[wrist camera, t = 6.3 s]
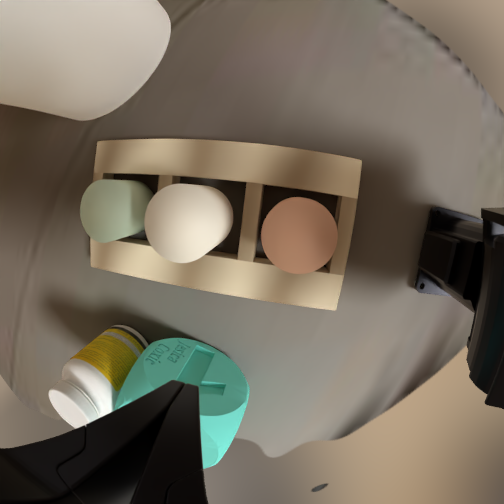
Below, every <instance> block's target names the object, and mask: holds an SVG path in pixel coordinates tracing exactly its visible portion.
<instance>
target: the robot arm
mask: <svg viewBox="0 0 504 504" xmlns="http://www.w3.org/2000/svg"><path fill="white" fill-rule="evenodd" d="M436 210H437V212H438V214H437V216H435V211H436ZM481 218H483V220H480V219H477V218H474V217H471V216H467V215H464V214H461V213H458V212H454V211H451V210H447V209H444V208H440V207H432V208H431V210H430V214H429V220H428V226H427V232H426V233H425V236H424V241H423V246H422V251H421V255H420V260H419V264H418V265H419V270H418V274H417V278H416V282H415V289H416V290H417V291H418V292H420V293H427V294H435V295H444V296H452V297H453V298H455V299H456V300H458V301H459V302H460V303H462V304H463V305H464V306H466V307H467V308H468V309H470V310H471V311H472V312H474V313H475V314H474V319H473V324H472V329H471V334H470V336H469V337H468V341H467V348H468V355H467V363H468V366H469V370H470V371H471V372H470V375H469V377H470V379H471V380H472V381H473V383H474V384H475V385H476V386H477V387H478V388H479V389H480V390H482V391H483V392H484V393H486V394H487V397H486V400H485V404H486V405H489V406H494V407H499V408H502V409H504V208H481ZM422 283H423V285H422V287H421V288H419V286H420V284H422ZM0 504H208V500H207V496H206V489H205V482H204V472H203V459H202V444H201V426H200V402H199V387H198V386H197V385H192V384H189V383H187V384H185V383H184V382H181V381H177V380H171V381H169V382H167V383H165V384H164V385H162V386H160V387H158V388H156V389H155V390H153V391H151V392H149V393H147V394H145V395H143V396H142V397H140V398H138V399H136V400H134V401H132V402H130V403H128V404H126V405H124V406H122V407H120V408H119V409H117V410H115V411H113V412H111V413H109V414H106V415H104V416H102V417H100V418H98V419H96V420H94V421H92V422H90V423H88V424H86V426H85V425H83V426H81V427H79V428H77V429H74V430H72V431H69V432H67V433H65V434H62V435H59V436H56V437H53V438H50V439H46V440H43V441H39V442H35V443H31V444H27V445H24V446H19V447H14V448H5V449H3V448H2V449H1V448H0Z"/></svg>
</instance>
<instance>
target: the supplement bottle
mask: <svg viewBox="0 0 504 504" xmlns="http://www.w3.org/2000/svg"><path fill="white" fill-rule="evenodd" d="M148 346H149V345H148V343H147V342H146V340H145V339H144V338H143V337H142V335H140V334H139V333H138V332H137V331H135V330H134V329H132V328H130V327H128V326H124V325H114V326H112V327H110V328H108V329H107V330H106V331H104V332H103V333H102V334H101V335H99V336H98V337H97V338H95V339H94V340H93V341H92V342H91V343H89V344H88V345H87V346H86V347H84V348H83V349H82V350H81V351H80V352H78V353H77V354H76V355H75V356H73V357H72V358H71V359H70V360H69V361H68V362H67V363H66V364H65V365H64V367H63V370H62V379H63V380H61V381H59V382H57V383H56V384H55V385H54V386H53V387H52V388H51V389H50V390H49V398H50V401H51V403H52V405H53V407H54V408H55V409H56V411H57V412H58V413H59V414H60V416H61V417H62V418H63V419H64V420H65V421H67V422H68V423H69V424H70V425H72V426H73V427H75V428H76V429H77V428H79V427H81V426H83V425H85V426H86V424H88V423H90V422H92V421H94V420H96V419H98V418H99V417H102V416H104V415H106V414H109V413H111V412H113V411H114V410H115V405H116V402H117V399H118V396H119V393H120V391H121V388H122V386H123V384H124V382H125V380H126V378H127V376H128V374H129V372H130V371H131V369H132V367H133V366H134V364H135V363H136V361H137V359H138V358H139V357H140V355H141V354H142V353H143V351H144V350H145V349H146V348H147V347H148Z"/></svg>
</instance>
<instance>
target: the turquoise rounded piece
mask: <svg viewBox="0 0 504 504" xmlns="http://www.w3.org/2000/svg"><path fill="white" fill-rule="evenodd" d="M171 380H177V381H181V382H184V383H185V384H187V383H189V384H192V385H197V386H198V387H199V402H200V426H201V444H202V459H203V469H204V468H207V467H211V466H214V465H215V464H217V463H218V462H219V460H220V459H221V458H222V457H223V455H224V454H225V452H226V451H227V449H228V447H229V446H230V444H231V442H232V440H233V438H234V436H235V434H236V432H237V430H238V427H239V425H240V423H241V420H242V418H243V415H244V412H245V409H246V406H247V402H248V398H249V390H250V389H249V385H248V383H247V381H246V379H245V377H244V375H243V374H242V372H241V370H240V369H239V368H238V367H237V365H236V364H235V363H234V362H233V361H232V360H231V359H230V358H228V357H227V356H226V355H225V354H223V353H222V352H220V351H219V350H217V349H215V348H213V347H211V346H209V345H207V344H204V343H202V342H199V341H195V340H191V339H185V338H168V339H162V340H158V341H154V342H153V343H151V344H150V345H149V346H148V347H147V348H146V349H145V350H144V351H143V353H142V354H141V355H140V357H139V358H138V359H137V361H136V363H135V364H134V366H133V367H132V369H131V371H130V372H129V374H128V376H127V378H126V380H125V382H124V384H123V386H122V388H121V391H120V393H119V396H118V399H117V402H116V405H115V410H117V409H119V408H120V407H122V406H124V405H126V404H128V403H130V402H132V401H134V400H136V399H138V398H140V397H142V396H143V395H145V394H147V393H149V392H151V391H153V390H155V389H156V388H158V387H160V386H162V385H164V384H165V383H167V382H169V381H171ZM115 410H114V411H115Z"/></svg>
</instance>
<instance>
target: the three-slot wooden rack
mask: <svg viewBox="0 0 504 504" xmlns="http://www.w3.org/2000/svg"><path fill="white" fill-rule="evenodd" d="M361 166H362V160H359V159H354V158H349V157H344V156H339V155H334V154H328V153H322V152H317V151H310V150H304V149H297V148H290V147H282V146H274V145H265V144H256V143H245V142H233V141H218V140H198V139H128V140H108V141H98V142H97V149H96V157H95V165H94V175H93V183H94V182H95V181H98V180H113V178H114V174H145V175H159V182H158V191H160V190H161V189H163V188H164V187H167V186H169V185H172V184H180V178H181V177H194V178H206V179H217V180H228V181H237V182H246V183H247V184H246V192H245V200H244V208H243V216H242V225H241V233H240V242H239V251H238V254H232V253H225V252H219V251H212V250H210V251H209V252H208V253H206V254H205V255H204V256H202V257H201V258H199V259H197V260H195V261H192V262H188V263H176V262H172V261H169V260H167V259H165V258H163V257H162V256H160V255H159V254H158V253H157V252H156V251H155V250H154V249H153V247H152V246H151V244H150V243H149V241H147V240H140V239H134V238H127V237H124V238H121V239H117V240H114V241H111V242H107V243H100V242H97V241H95V240H93V239H92V238H91V237H90V245H91V267H95V268H99V269H103V270H108V271H112V272H116V273H121V274H125V275H130V276H134V277H139V278H143V279H148V280H153V281H158V282H163V283H168V284H173V285H178V286H183V287H188V288H193V289H199V290H204V291H209V292H215V293H221V294H226V295H232V296H238V297H244V298H250V299H257V300H263V301H270V302H276V303H283V304H290V305H297V306H304V307H312V308H319V309H327V310H335V311H336V308H337V304H338V300H339V295H340V291H341V287H342V282H343V278H344V273H345V268H346V263H347V258H348V253H349V248H350V242H351V237H352V231H353V225H354V219H355V212H356V206H357V199H358V191H359V183H360V175H361ZM265 185H271V186H278V187H285V188H292V189H299V190H306V191H312V192H318V193H324V194H330V195H336V196H338V199H337V206H336V213H335V223H336V226H337V231H338V240H337V246H336V249H335V251H334V253H333V255H332V257H331V258H330V260H329V261H328V262H327V266H326V267H321V268H319V269H318V270H316V271H313V272H310V273H306V274H293V273H288V272H286V271H283V270H281V269H279V268H278V267H276V266H275V265H274V264H273V263H272V262H271V261H270V260H269V259H265V258H259V257H255V256H256V248H257V240H258V233H259V225H260V217H261V209H262V201H263V193H264V186H265Z"/></svg>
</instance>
